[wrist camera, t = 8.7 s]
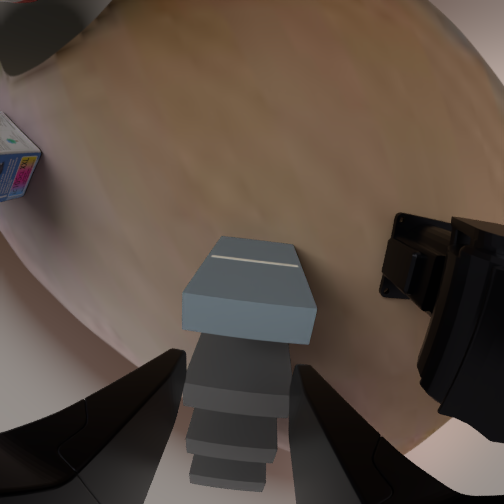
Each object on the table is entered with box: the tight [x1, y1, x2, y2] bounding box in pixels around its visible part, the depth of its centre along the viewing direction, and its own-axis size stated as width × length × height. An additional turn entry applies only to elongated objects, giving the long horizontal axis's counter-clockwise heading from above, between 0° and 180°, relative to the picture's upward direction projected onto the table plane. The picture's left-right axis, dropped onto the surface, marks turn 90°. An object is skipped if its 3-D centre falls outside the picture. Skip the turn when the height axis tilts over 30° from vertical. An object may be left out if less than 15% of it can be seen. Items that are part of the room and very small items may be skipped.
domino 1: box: [189, 454, 266, 492], centre depth 19 cm, size 5×2×10 cm, turn 84°
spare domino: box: [182, 236, 317, 345], centre depth 15 cm, size 5×2×10 cm, turn 84°
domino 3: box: [183, 333, 292, 418], centre depth 16 cm, size 5×2×10 cm, turn 84°
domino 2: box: [186, 408, 277, 463], centre depth 18 cm, size 5×2×10 cm, turn 84°
